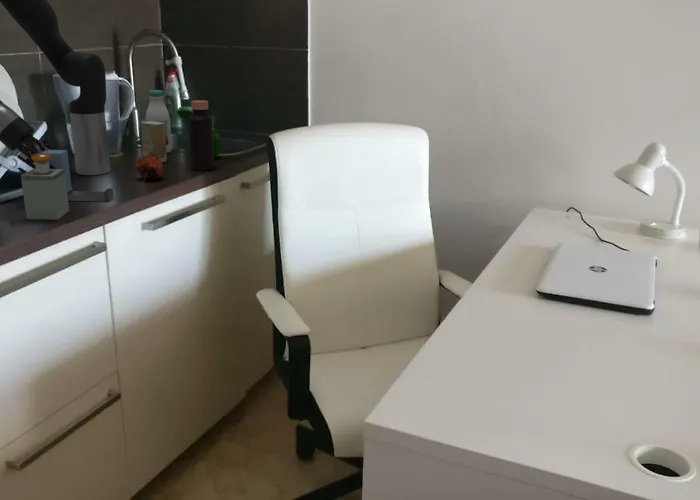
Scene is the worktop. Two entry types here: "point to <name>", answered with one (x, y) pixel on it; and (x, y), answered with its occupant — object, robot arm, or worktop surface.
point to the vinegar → (201, 136)
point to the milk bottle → (159, 114)
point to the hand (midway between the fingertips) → (64, 176)
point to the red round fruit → (149, 167)
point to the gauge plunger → (42, 162)
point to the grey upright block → (45, 194)
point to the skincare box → (154, 139)
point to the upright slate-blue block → (61, 164)
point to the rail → (90, 195)
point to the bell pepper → (216, 144)
